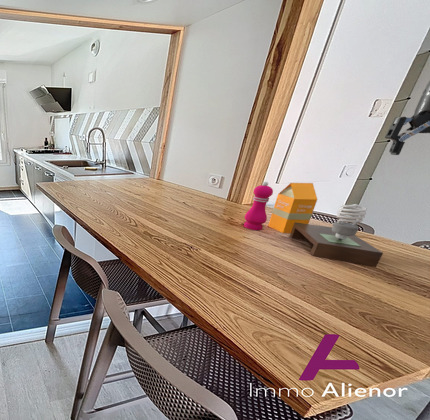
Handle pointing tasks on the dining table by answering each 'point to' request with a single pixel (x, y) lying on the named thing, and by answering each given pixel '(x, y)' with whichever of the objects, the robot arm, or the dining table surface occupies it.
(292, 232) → the shelf
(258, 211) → the pepper mill
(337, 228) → the light bulb
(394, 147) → the robot arm
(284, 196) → the orange juice
